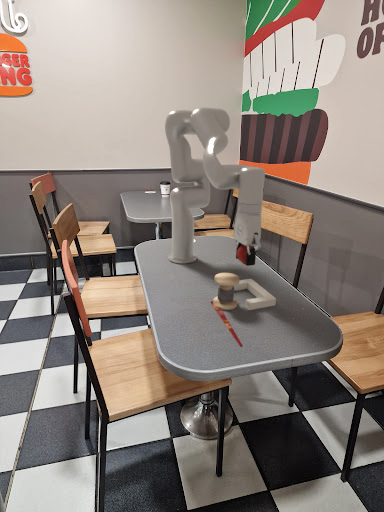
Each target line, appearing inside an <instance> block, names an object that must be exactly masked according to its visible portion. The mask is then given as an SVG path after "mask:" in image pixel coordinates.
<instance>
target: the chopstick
mask: <svg viewBox="0 0 384 512" xmlns="http://www.w3.org/2000/svg"><path fill="white" fill-rule="evenodd" d="M210 304H211V305H212V307H213V308H214V310H215V312H216V313H217V315H218V316H219V318H220V319H221V320H222V322H223V323H224V324H225V326H226V328H227V329H228V331H229V332H230V334H231V335H232V336H233V338H234V339H235V341H236V343H237V344H238V346H239V347H243V344H242V342H241V341H240V339H239V337H238V335H237V334H236V332H235V330H234V328H233V327H232V325H231V323H230V321H229V320H228V318H227V317H226V315H225V313H224V310H221V308H219V307H216V306H215V305H214V304H213V300H210Z"/></svg>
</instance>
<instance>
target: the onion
mask: <svg viewBox="0 0 384 512" xmlns="http://www.w3.org/2000/svg"><path fill="white" fill-rule="evenodd" d="M250 248H251V249H252V248H253V246H250ZM246 254H248V251H247V246H245V245H241V246H240V247H239V249H238V250H237V257H238V259H237V260H239V262H241V264H243V265H245V266H246Z"/></svg>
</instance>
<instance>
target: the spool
mask: <svg viewBox="0 0 384 512" xmlns="http://www.w3.org/2000/svg"><path fill="white" fill-rule="evenodd" d="M213 280H214V282H215V283H216V284H217V285H218V287H217V296H215V297H214V298H213V299H212V301H213V304H214V305H215V306H216V307H219V308H221V310H222V311H231V310H235V309H236V308H237V307H238V300H237V299H236V298H235V296H234V295H235V291H234V287H233V286H235V285H237V284H239V281H240V280H241V279H240V276H238V274H235V273H233V272H232V273H231V272H219V273H217V274H215V275H214V278H213Z"/></svg>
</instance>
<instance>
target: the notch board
mask: <svg viewBox="0 0 384 512" xmlns="http://www.w3.org/2000/svg"><path fill="white" fill-rule="evenodd" d="M233 287H234V292H235V291H241V290H248V291H249V292H250V293H251V294H253V296H254V297H255V298H254V297H252V298H247V299H245V302H244V303H245V304H244V307H245V308H246V309H247V310H248V311H253V310H258V309H264V308H268V307H269V308H270V307H273V306H276V303H277V298H276V297H275V296H274V295H272V294H271V293H270V292H269V291H267V290H266V289H265V288H264V287H262V286H261V285H260V284H258V283H257V282H256V281H255V280H253V279H252V278H246V279H240V281H239V284H237V285H235V286H233Z"/></svg>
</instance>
